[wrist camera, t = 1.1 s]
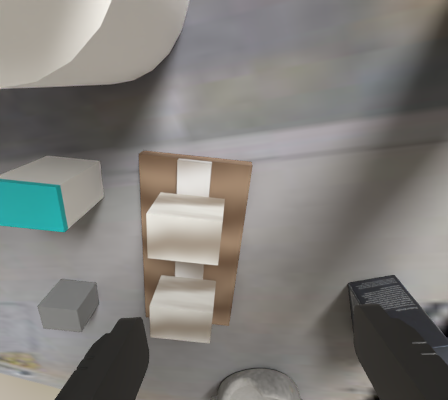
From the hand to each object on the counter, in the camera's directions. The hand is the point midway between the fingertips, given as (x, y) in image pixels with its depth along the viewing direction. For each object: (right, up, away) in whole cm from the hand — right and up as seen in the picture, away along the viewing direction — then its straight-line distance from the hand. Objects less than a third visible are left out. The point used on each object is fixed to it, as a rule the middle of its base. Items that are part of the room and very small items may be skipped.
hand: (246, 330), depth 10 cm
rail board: (-5, -1, +24) cm, 25 cm away
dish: (+5, -28, +37) cm, 47 cm away
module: (-18, +8, +21) cm, 28 cm away
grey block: (-22, -8, +28) cm, 37 cm away
